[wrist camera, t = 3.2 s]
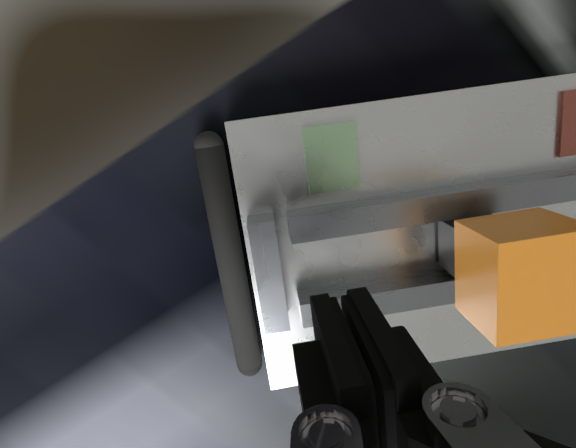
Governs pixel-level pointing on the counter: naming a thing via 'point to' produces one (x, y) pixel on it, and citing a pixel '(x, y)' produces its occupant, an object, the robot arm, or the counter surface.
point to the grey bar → (228, 249)
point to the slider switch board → (392, 202)
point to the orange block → (513, 273)
